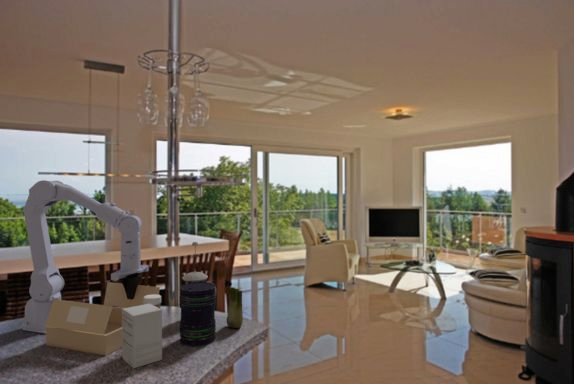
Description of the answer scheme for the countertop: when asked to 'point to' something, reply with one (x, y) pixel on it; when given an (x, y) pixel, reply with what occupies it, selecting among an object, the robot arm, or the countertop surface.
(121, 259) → the robot arm
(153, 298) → the sprinkles bottle
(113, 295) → the flap
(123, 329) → the supplement box
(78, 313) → the flap
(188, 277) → the french press
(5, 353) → the countertop surface
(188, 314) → the storage jar
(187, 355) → the countertop surface
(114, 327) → the carton
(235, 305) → the fennel bulb
